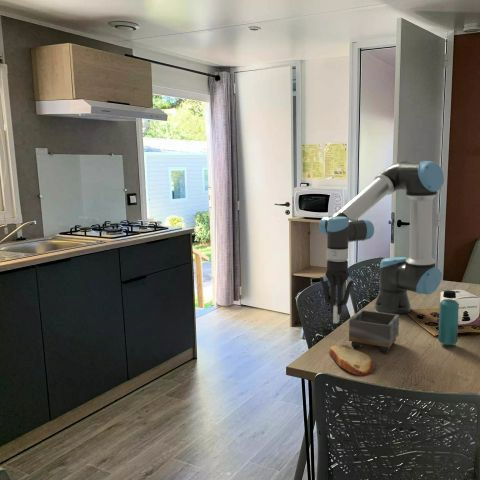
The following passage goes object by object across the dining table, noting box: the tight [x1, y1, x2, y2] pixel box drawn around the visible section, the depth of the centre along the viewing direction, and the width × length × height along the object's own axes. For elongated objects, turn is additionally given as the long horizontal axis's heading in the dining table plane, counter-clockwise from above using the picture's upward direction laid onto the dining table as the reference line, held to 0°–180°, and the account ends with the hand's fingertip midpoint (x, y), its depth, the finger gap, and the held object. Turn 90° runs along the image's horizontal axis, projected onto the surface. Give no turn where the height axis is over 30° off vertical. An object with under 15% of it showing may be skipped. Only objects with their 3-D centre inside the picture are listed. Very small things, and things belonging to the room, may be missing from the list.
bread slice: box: [328, 345, 375, 377], centre depth 165 cm, size 18×18×4 cm
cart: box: [348, 309, 400, 355], centre depth 178 cm, size 14×14×10 cm
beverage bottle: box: [437, 289, 460, 345], centre depth 177 cm, size 6×7×20 cm
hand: (336, 322), depth 185 cm, fingers closed
